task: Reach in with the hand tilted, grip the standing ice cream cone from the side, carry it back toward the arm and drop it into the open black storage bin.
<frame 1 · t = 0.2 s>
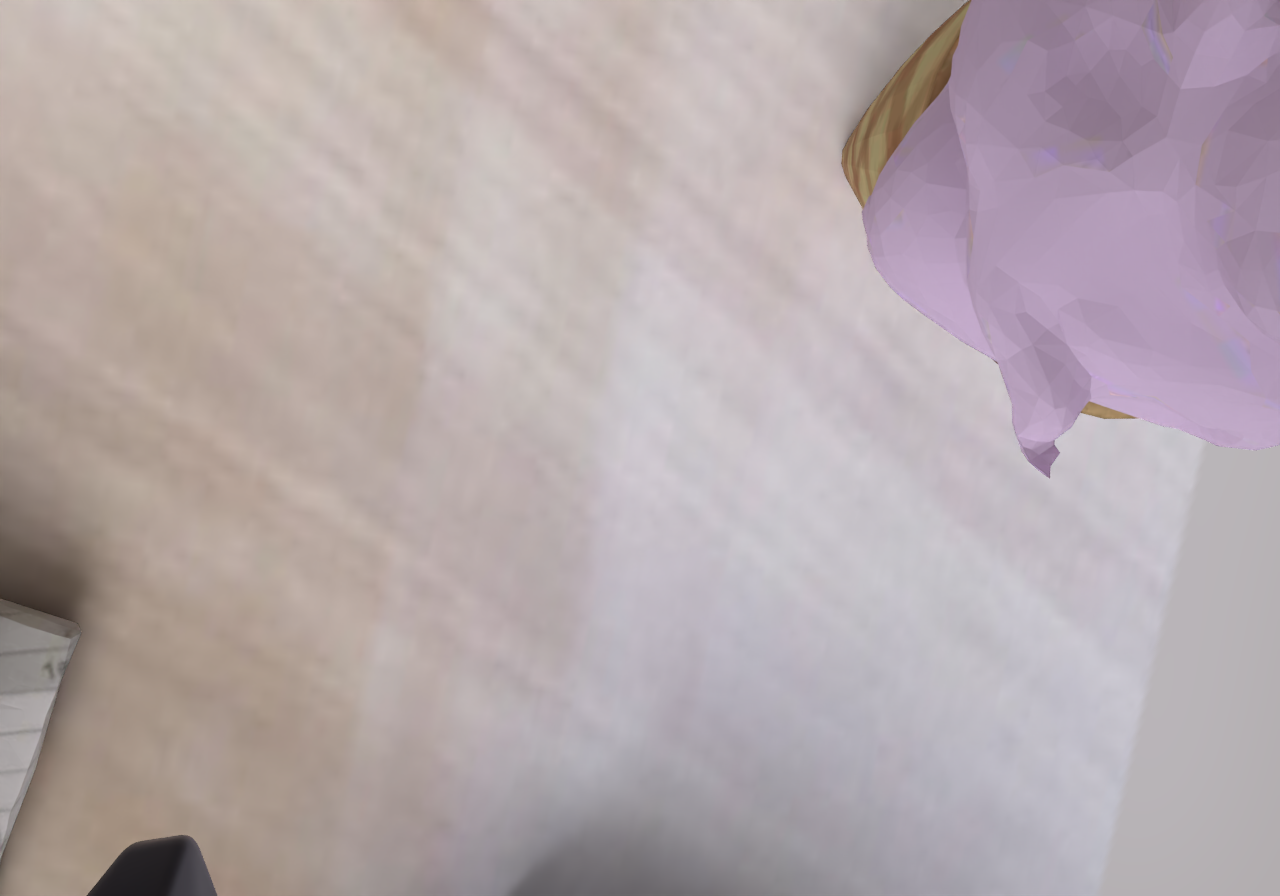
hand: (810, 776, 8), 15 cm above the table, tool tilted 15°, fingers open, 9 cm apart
ice cream cone: (853, 164, 23), on the table
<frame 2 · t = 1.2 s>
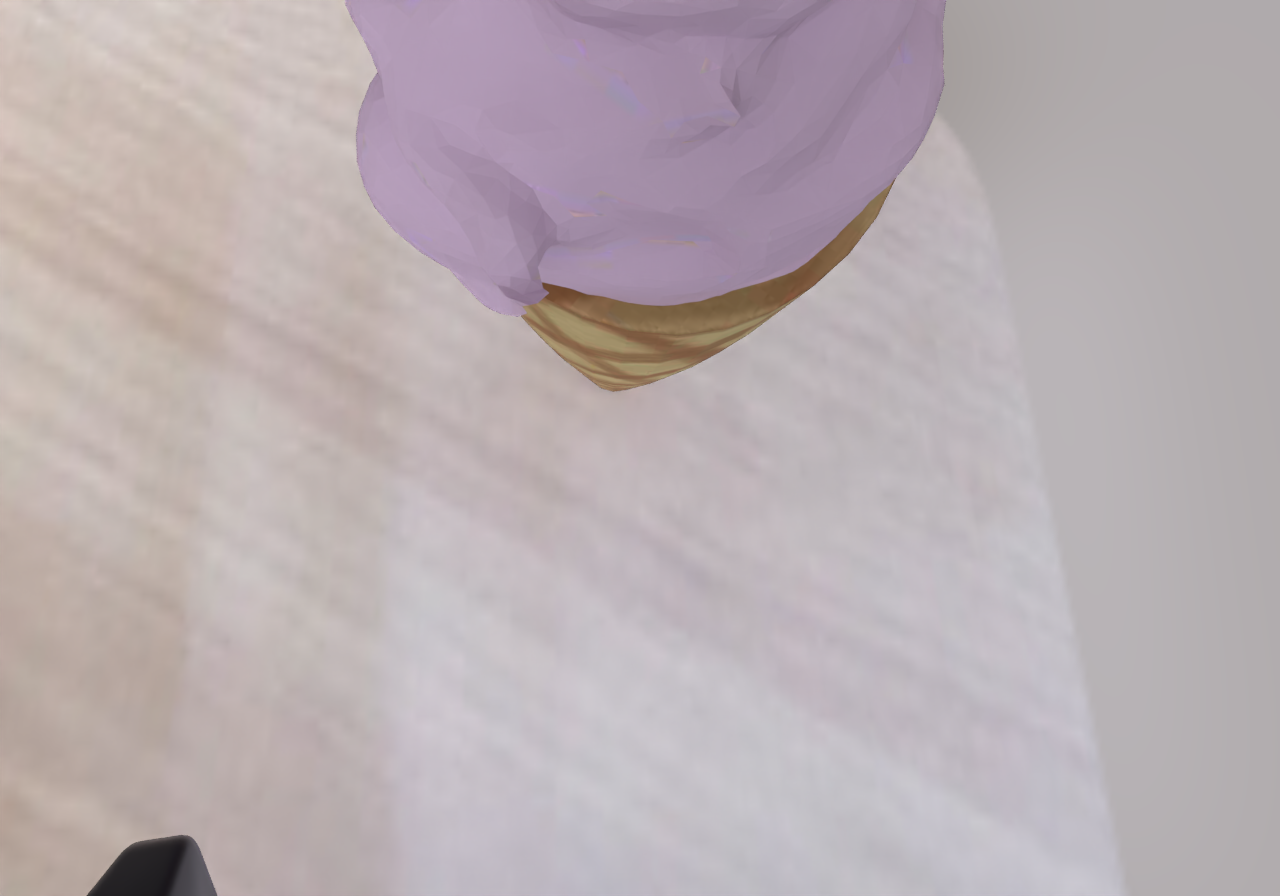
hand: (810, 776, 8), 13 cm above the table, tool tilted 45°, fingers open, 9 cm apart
ice cream cone: (598, 370, 23), on the table
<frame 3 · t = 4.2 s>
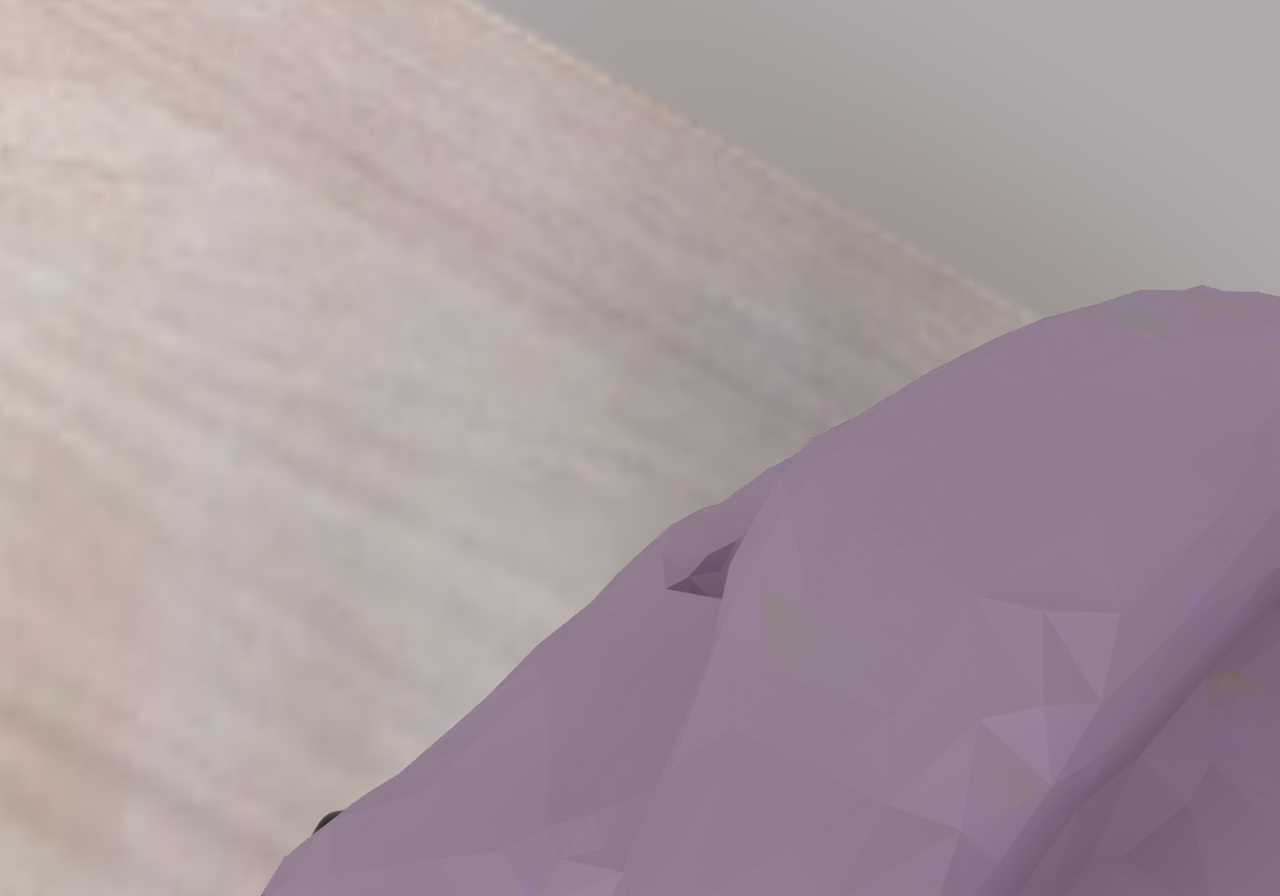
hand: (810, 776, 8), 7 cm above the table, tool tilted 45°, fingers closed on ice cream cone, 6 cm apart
ice cream cone: (704, 856, 15), on the table, touching gripper
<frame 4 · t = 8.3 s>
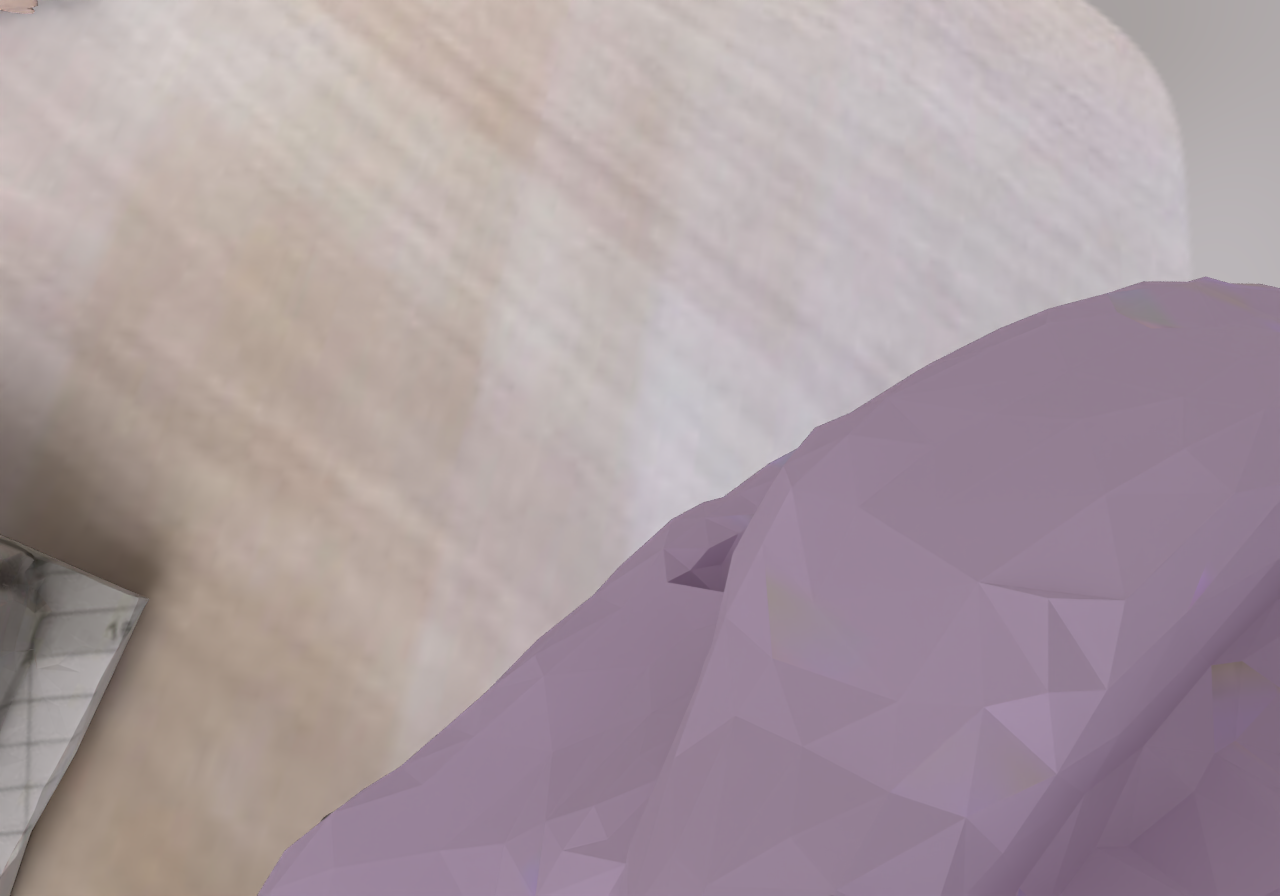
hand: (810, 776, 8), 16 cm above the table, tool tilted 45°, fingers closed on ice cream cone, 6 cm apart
ice cream cone: (704, 855, 15), point 9 cm above the table, touching gripper
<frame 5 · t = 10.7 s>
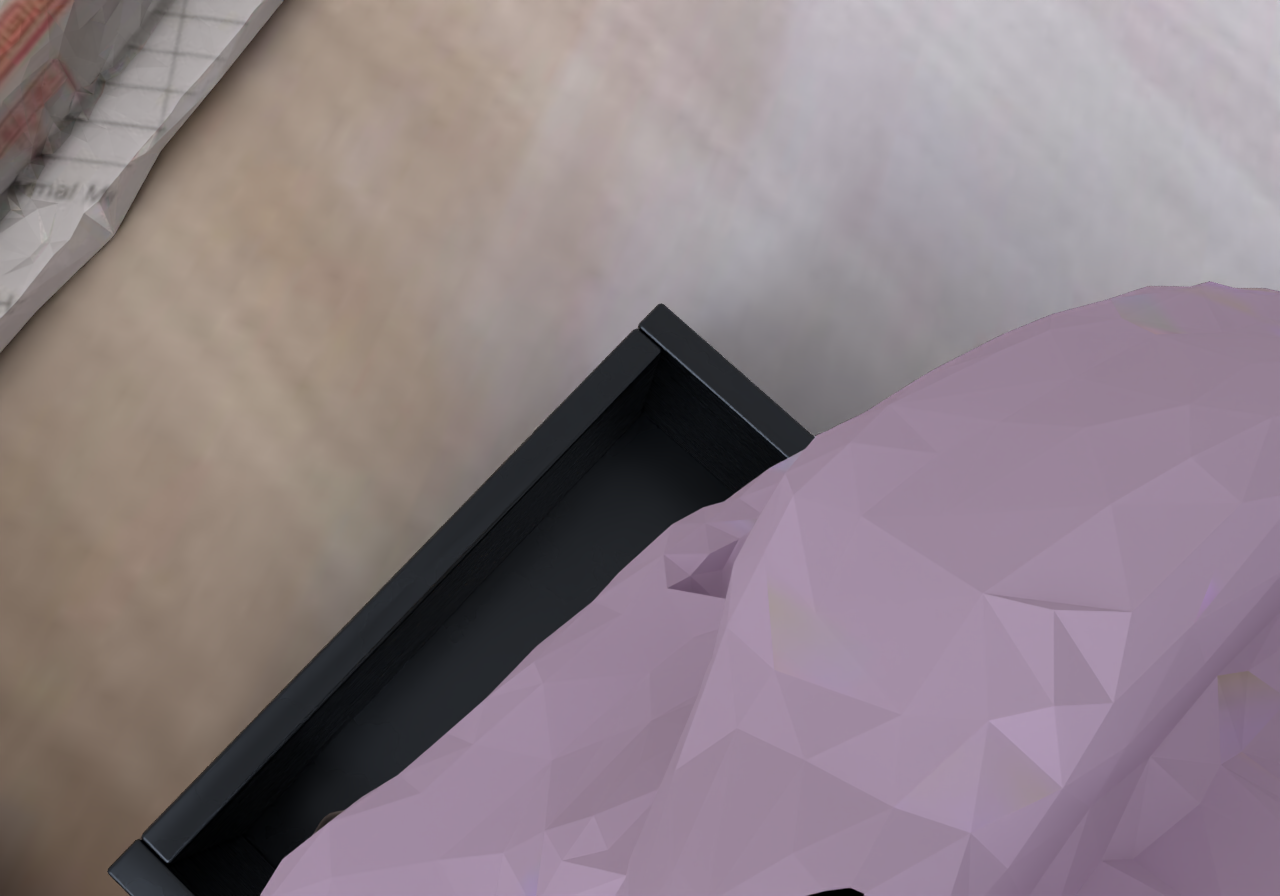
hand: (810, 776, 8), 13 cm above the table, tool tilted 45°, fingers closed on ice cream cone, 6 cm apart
ice cream cone: (703, 857, 15), point 6 cm above the table, touching gripper
open black storage bin: (661, 806, 20), on the table
when the fingers open (8 cm above the table, at t = 12.8 s): ice cream cone stays where it is, resting on open black storage bin.
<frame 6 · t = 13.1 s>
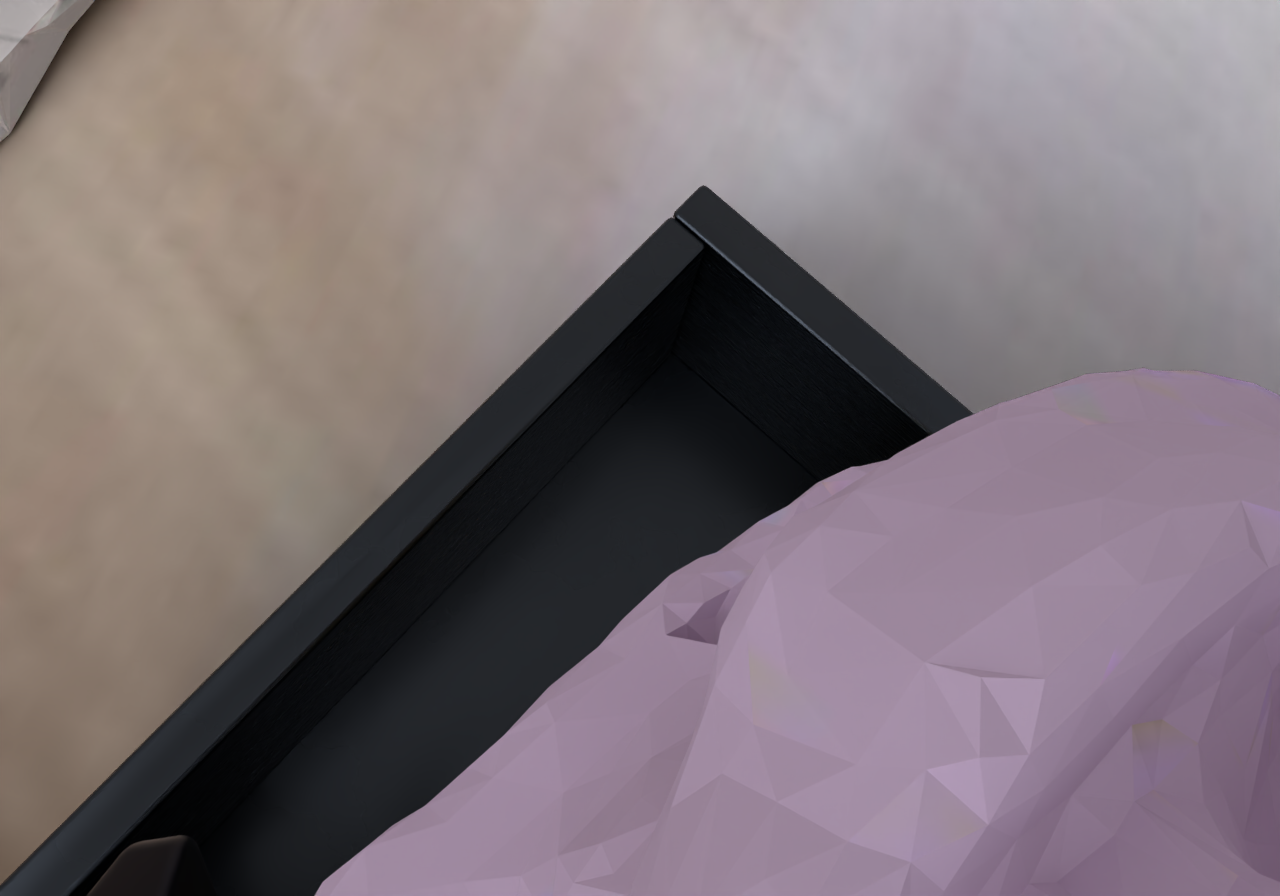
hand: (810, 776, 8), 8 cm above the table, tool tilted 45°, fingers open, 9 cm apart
ice cream cone: (703, 874, 15), resting on open black storage bin
open black storage bin: (699, 854, 16), on the table
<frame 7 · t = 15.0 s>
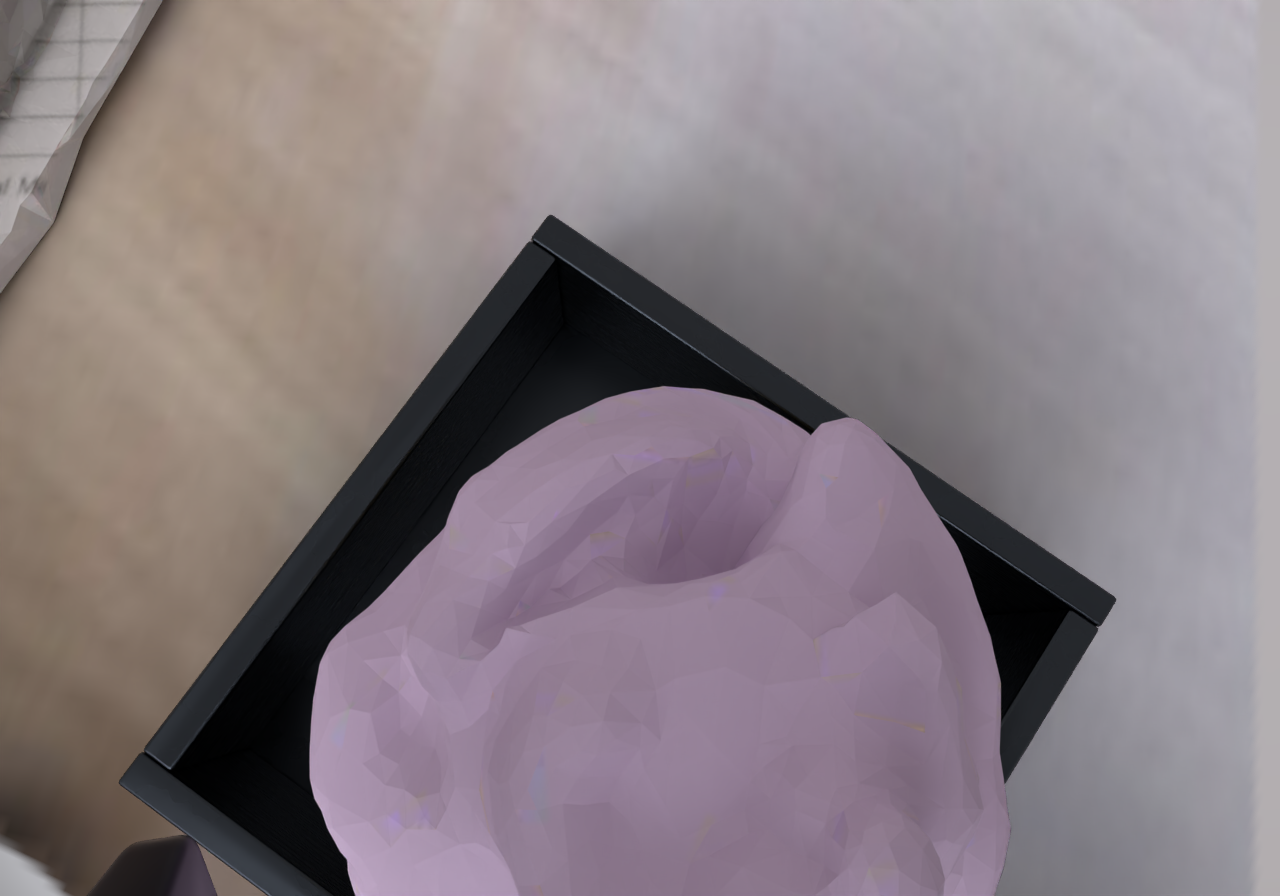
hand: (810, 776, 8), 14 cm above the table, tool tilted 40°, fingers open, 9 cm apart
ice cream cone: (628, 691, 22), resting on open black storage bin
open black storage bin: (626, 678, 22), on the table
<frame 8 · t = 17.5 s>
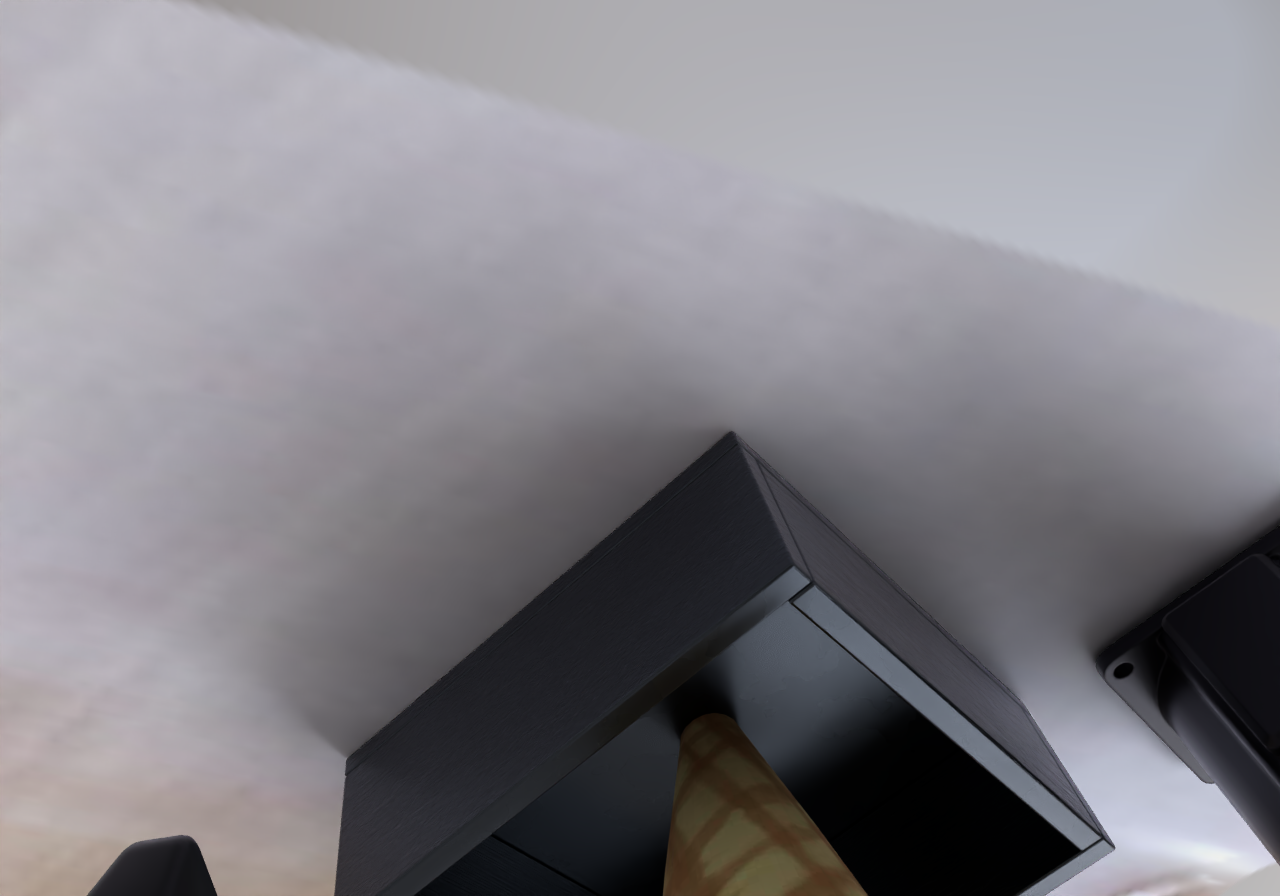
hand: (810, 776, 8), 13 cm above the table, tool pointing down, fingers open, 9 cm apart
ice cream cone: (713, 738, 26), resting on open black storage bin
open black storage bin: (701, 729, 26), on the table
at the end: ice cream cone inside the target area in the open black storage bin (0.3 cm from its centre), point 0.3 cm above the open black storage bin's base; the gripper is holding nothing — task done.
